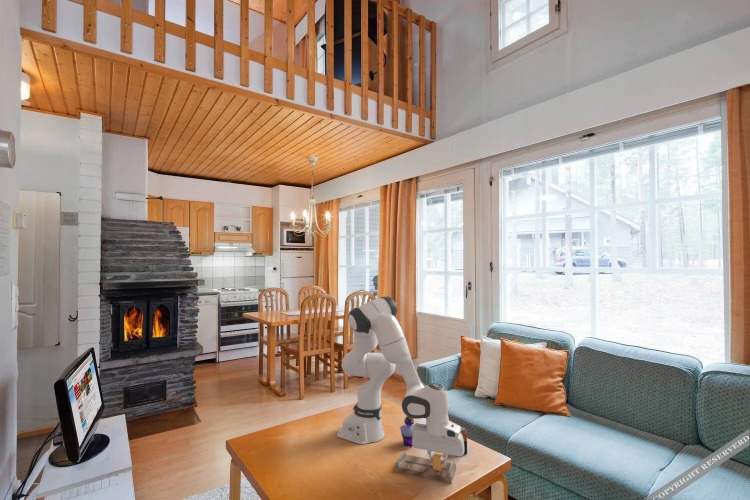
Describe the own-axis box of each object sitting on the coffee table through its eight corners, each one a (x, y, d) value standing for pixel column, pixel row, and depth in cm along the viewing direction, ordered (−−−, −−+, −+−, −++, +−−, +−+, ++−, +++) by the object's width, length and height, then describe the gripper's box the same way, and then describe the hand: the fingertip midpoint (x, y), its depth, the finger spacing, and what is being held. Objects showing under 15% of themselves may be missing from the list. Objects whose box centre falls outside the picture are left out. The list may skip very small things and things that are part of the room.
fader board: (395, 471, 146) (395, 463, 146) (402, 458, 155) (402, 450, 155) (451, 483, 138) (451, 474, 138) (455, 469, 147) (455, 460, 147)
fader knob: (432, 469, 143) (432, 456, 143) (435, 462, 148) (435, 449, 148) (440, 471, 142) (440, 457, 142) (443, 464, 146) (443, 451, 147)
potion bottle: (417, 449, 162) (416, 422, 162) (397, 447, 165) (397, 419, 165) (420, 440, 170) (420, 414, 171) (402, 438, 173) (401, 412, 173)
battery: (467, 454, 158) (466, 431, 158) (451, 453, 159) (450, 429, 159) (466, 449, 162) (466, 426, 162) (450, 448, 163) (450, 425, 163)
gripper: (409, 425, 146) (410, 461, 145) (462, 434, 138) (463, 471, 138) (414, 419, 152) (414, 453, 151) (464, 427, 144) (465, 463, 144)
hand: (438, 462), depth 144 cm, fingers closed on fader knob, 3 cm apart
